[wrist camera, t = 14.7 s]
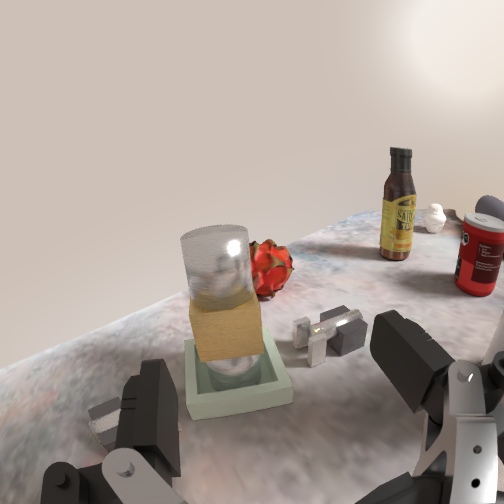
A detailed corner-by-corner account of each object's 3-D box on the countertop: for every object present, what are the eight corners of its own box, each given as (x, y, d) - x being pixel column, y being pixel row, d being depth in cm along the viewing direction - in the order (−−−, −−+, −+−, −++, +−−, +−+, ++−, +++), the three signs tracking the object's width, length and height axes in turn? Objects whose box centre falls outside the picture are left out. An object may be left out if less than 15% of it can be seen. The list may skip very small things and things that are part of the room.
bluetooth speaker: (525, 264, 39) (534, 218, 35) (491, 259, 43) (500, 211, 39) (498, 231, 57) (503, 195, 53) (471, 226, 61) (475, 190, 57)
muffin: (448, 235, 57) (452, 206, 54) (429, 236, 57) (432, 206, 55) (436, 227, 63) (439, 200, 60) (417, 227, 63) (419, 200, 60)
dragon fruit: (224, 315, 40) (284, 294, 47) (257, 301, 34) (321, 278, 41) (204, 259, 42) (266, 247, 49) (233, 235, 35) (298, 225, 43)
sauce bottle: (396, 264, 46) (402, 148, 38) (372, 253, 51) (374, 146, 44) (416, 256, 48) (423, 149, 41) (393, 246, 54) (397, 146, 46)
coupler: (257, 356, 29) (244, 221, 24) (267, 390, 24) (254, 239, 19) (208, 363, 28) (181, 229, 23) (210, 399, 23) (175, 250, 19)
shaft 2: (312, 368, 27) (314, 343, 26) (292, 344, 31) (292, 320, 29) (366, 344, 29) (371, 319, 28) (344, 324, 33) (346, 301, 32)
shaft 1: (160, 401, 24) (149, 377, 22) (184, 430, 21) (173, 408, 19) (98, 431, 20) (82, 408, 18) (115, 465, 16) (97, 445, 15)
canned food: (465, 270, 41) (475, 210, 37) (499, 287, 34) (513, 223, 30) (444, 282, 38) (455, 215, 34) (482, 303, 31) (499, 231, 27)
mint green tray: (269, 343, 31) (267, 326, 30) (292, 402, 23) (293, 385, 22) (189, 356, 30) (184, 340, 29) (192, 420, 22) (186, 404, 21)
